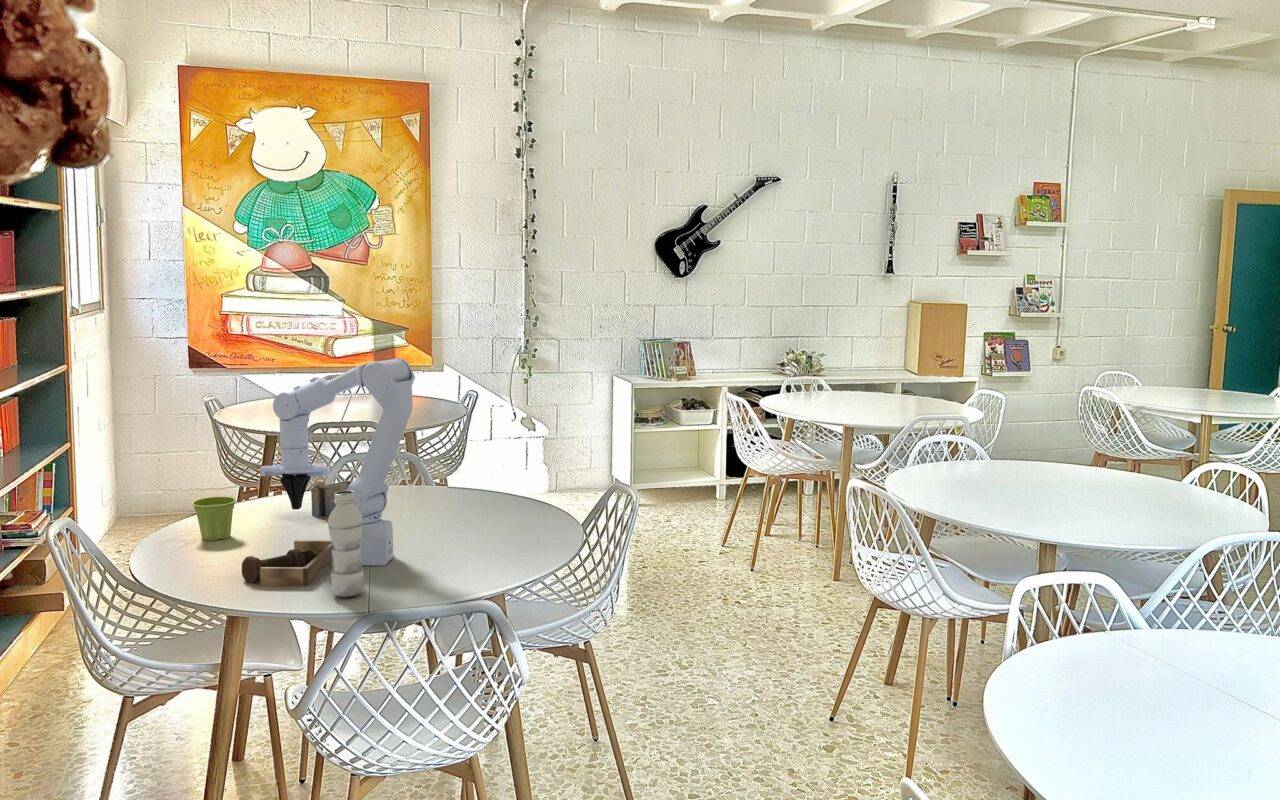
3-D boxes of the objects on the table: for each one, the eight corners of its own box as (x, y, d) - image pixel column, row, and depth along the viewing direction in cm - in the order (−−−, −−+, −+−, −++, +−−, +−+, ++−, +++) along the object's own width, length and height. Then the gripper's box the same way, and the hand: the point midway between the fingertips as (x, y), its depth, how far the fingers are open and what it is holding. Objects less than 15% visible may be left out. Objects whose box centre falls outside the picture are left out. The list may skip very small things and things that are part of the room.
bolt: (316, 575, 210) (250, 590, 198) (303, 559, 212) (238, 574, 201) (324, 554, 208) (258, 568, 196) (311, 538, 210) (245, 551, 198)
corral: (338, 556, 217) (337, 540, 217) (307, 585, 197) (306, 568, 196) (295, 556, 217) (295, 540, 217) (260, 585, 197) (259, 568, 196)
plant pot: (228, 543, 227) (226, 505, 226) (186, 543, 227) (184, 505, 226) (244, 532, 236) (242, 496, 235) (204, 532, 236) (202, 496, 235)
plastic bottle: (369, 590, 194) (367, 489, 192) (358, 601, 188) (355, 496, 185) (337, 589, 195) (333, 488, 192) (324, 600, 188) (321, 496, 185)
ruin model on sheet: (319, 519, 251) (318, 481, 250) (312, 517, 253) (310, 479, 251) (356, 511, 260) (355, 474, 259) (349, 509, 262) (348, 472, 260)
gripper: (254, 449, 213) (256, 512, 214) (322, 450, 213) (324, 512, 215) (266, 444, 220) (268, 504, 221) (332, 444, 220) (334, 505, 222)
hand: (296, 508), depth 218 cm, fingers closed
